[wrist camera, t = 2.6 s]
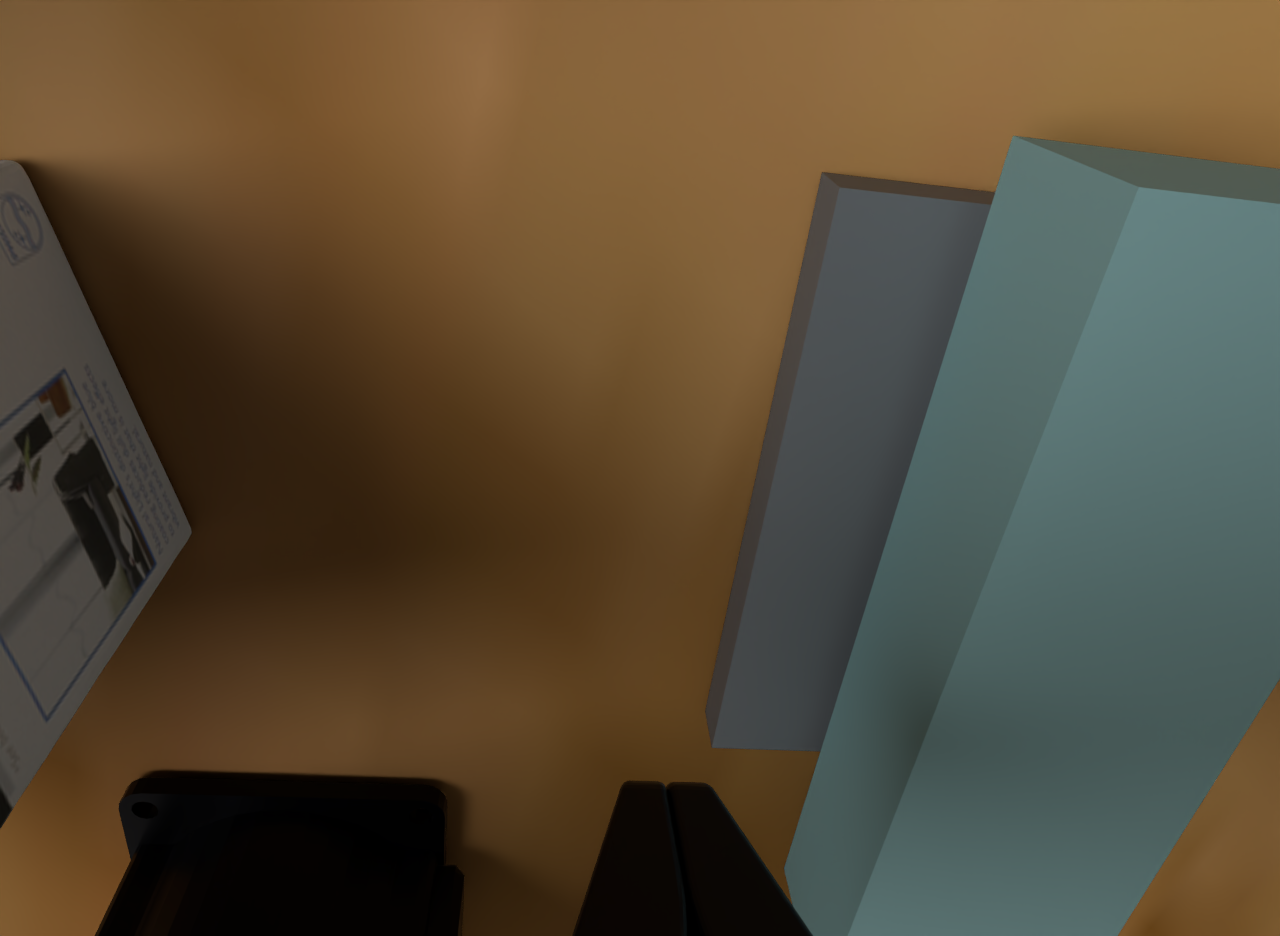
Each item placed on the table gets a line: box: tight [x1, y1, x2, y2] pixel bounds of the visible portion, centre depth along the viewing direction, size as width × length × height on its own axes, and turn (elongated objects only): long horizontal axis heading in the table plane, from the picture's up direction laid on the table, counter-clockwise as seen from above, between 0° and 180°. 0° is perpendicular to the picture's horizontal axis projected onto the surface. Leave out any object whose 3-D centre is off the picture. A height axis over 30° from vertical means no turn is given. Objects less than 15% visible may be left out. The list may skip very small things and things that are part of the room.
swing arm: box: [784, 136, 1280, 936], centre depth 15 cm, size 5×17×3 cm, turn 173°
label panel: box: [705, 172, 995, 751], centre depth 16 cm, size 9×11×1 cm
